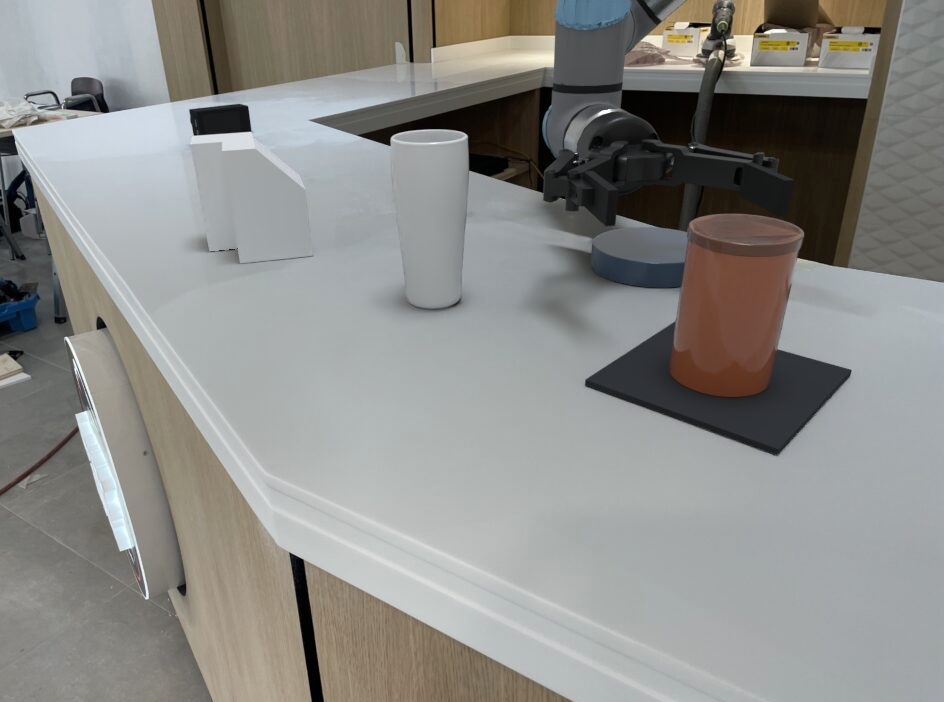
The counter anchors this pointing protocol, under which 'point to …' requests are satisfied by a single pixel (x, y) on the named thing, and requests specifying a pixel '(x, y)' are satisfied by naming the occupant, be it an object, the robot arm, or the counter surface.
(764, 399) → the mat
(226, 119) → the digital camera
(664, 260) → the dish
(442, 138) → the drinking glass
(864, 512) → the counter surface
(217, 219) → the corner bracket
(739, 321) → the canister
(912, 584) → the counter surface
